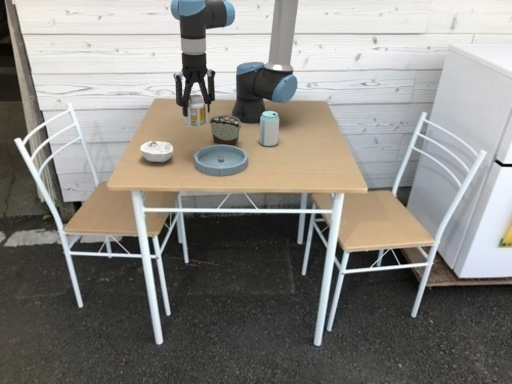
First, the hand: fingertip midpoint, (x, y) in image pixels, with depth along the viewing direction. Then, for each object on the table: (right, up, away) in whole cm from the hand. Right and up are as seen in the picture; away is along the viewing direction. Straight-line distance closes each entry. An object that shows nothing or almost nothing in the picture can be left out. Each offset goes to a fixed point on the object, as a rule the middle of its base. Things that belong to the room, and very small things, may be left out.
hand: (196, 123), depth 136 cm
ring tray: (+8, -13, +5) cm, 16 cm away
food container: (+9, -4, +19) cm, 22 cm away
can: (+25, -4, +20) cm, 32 cm away
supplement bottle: (0, 0, 0) cm, 1 cm away
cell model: (-14, -12, +6) cm, 19 cm away
